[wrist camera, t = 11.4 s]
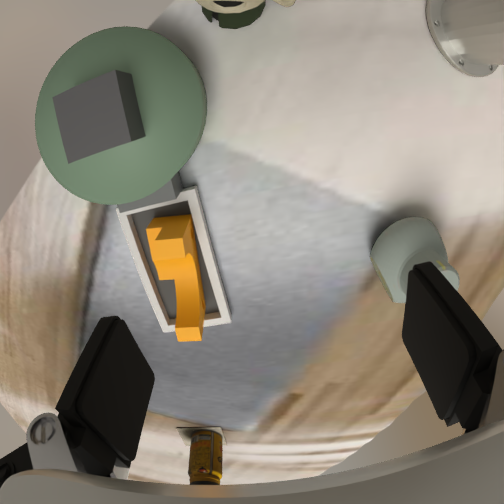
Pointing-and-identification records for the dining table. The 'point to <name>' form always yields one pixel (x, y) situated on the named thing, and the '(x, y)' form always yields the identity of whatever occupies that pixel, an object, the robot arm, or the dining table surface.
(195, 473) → the condiment
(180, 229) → the pipe clamp
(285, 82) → the dining table surface
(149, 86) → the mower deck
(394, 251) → the air freshener
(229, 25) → the character mug
